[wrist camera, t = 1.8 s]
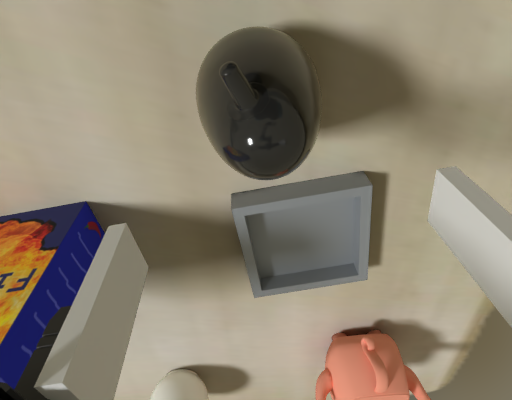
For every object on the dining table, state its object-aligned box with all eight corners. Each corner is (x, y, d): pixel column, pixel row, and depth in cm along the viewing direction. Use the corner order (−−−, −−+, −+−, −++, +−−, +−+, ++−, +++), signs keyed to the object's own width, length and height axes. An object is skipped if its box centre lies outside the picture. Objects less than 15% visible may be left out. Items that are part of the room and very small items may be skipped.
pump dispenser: (280, -7, 27) (324, 16, 15) (322, 103, 33) (378, 185, 21) (176, 53, 29) (138, 117, 17) (232, 146, 35) (234, 245, 23)
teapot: (414, 341, 60) (452, 419, 50) (339, 377, 66) (360, 454, 55) (369, 306, 53) (403, 388, 43) (291, 350, 59) (304, 432, 49)
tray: (231, 193, 39) (231, 209, 36) (363, 171, 38) (372, 185, 36) (253, 280, 47) (254, 297, 45) (360, 263, 47) (367, 279, 44)
